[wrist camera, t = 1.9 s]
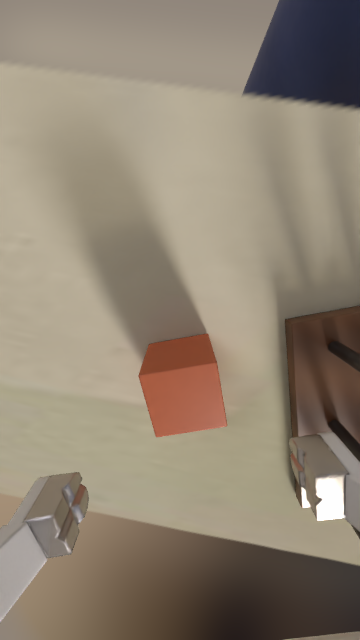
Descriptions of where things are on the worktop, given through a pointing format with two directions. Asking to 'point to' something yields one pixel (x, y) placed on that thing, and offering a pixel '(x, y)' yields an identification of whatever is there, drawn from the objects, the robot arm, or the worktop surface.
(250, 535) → the worktop surface
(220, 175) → the worktop surface
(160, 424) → the block
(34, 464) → the worktop surface
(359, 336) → the dish rack
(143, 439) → the worktop surface
